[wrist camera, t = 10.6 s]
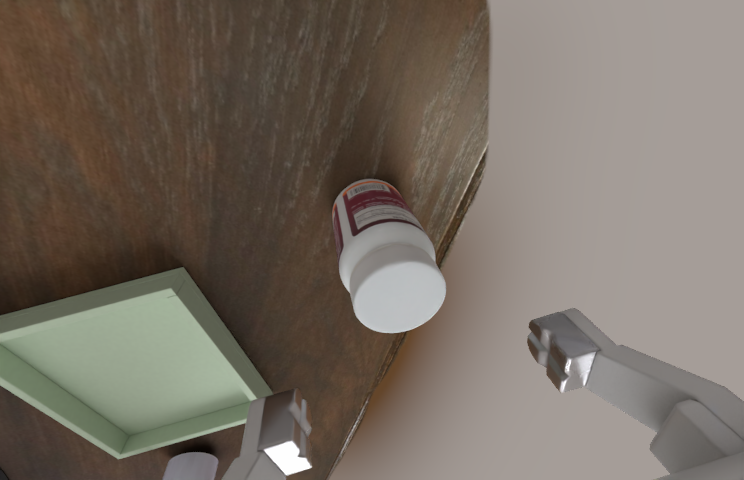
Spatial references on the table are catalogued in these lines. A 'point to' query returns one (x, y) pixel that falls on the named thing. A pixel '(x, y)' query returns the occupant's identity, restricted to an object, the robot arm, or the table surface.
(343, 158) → the table surface
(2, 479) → the camera
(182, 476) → the perfume bottle
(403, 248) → the pill bottle
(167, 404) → the tray
